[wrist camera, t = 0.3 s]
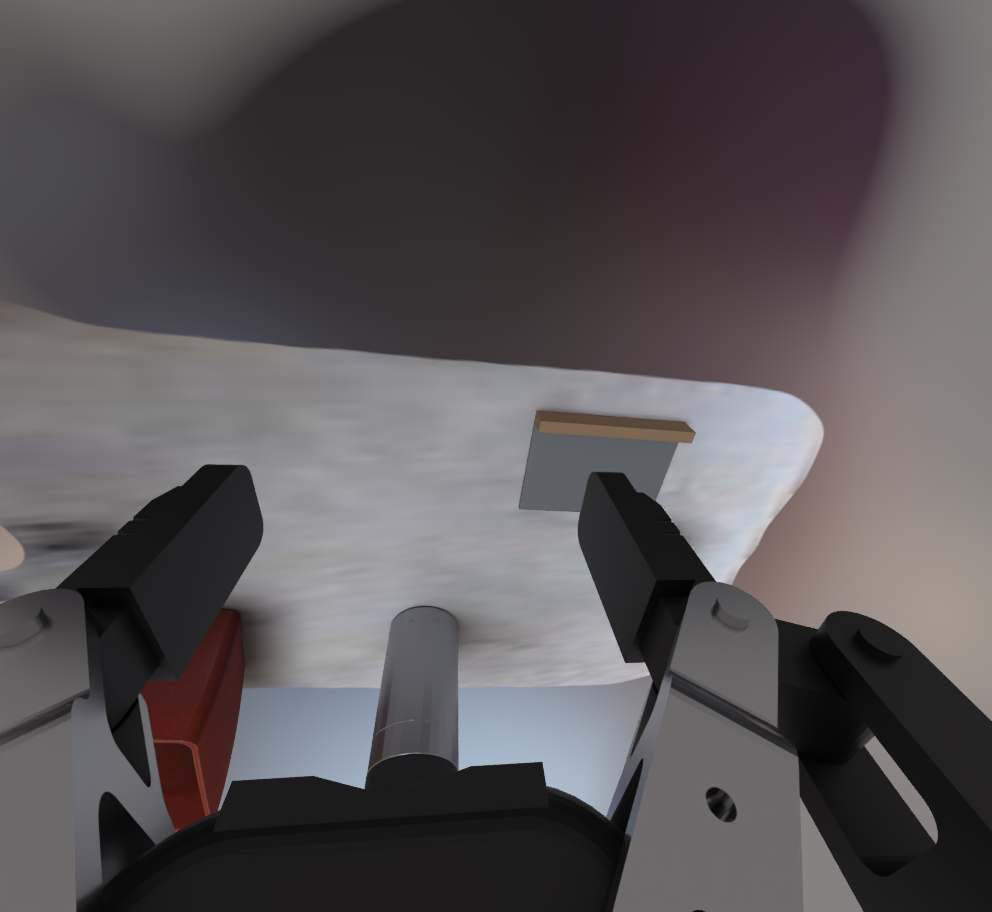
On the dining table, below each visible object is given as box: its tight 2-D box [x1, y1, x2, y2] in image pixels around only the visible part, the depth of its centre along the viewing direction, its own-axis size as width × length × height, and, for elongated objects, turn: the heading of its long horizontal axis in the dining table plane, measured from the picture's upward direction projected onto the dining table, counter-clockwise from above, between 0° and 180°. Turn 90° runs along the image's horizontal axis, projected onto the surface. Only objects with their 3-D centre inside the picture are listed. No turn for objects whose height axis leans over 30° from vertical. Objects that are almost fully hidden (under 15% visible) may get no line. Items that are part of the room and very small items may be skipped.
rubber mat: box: [519, 411, 696, 512], centre depth 44 cm, size 12×16×2 cm
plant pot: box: [140, 609, 244, 831], centre depth 46 cm, size 19×19×17 cm
